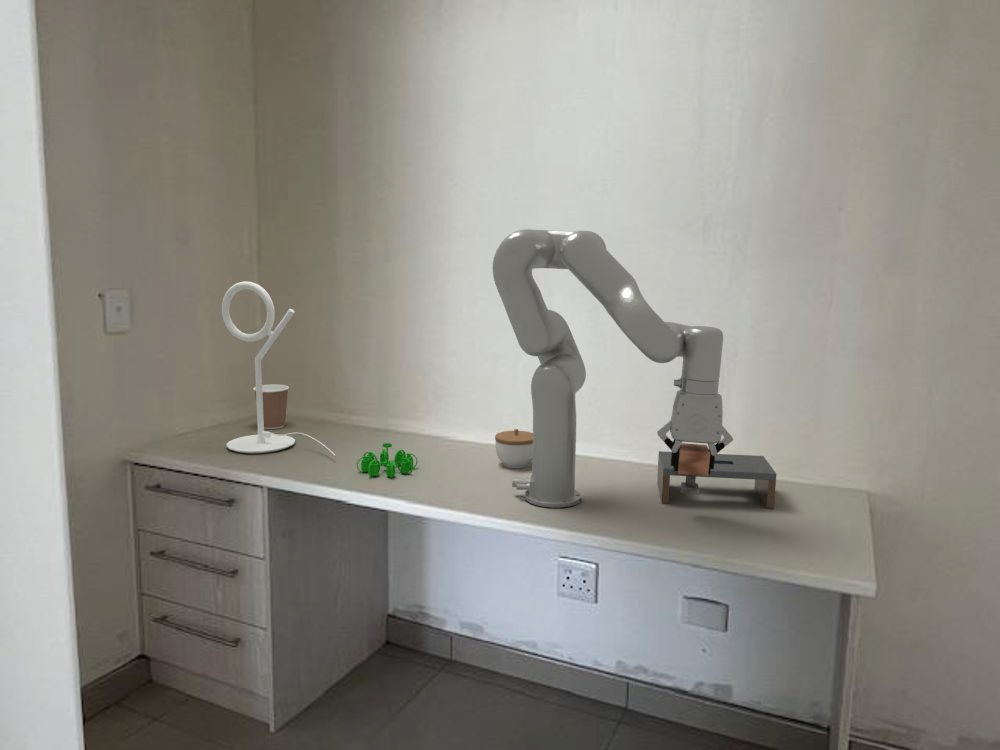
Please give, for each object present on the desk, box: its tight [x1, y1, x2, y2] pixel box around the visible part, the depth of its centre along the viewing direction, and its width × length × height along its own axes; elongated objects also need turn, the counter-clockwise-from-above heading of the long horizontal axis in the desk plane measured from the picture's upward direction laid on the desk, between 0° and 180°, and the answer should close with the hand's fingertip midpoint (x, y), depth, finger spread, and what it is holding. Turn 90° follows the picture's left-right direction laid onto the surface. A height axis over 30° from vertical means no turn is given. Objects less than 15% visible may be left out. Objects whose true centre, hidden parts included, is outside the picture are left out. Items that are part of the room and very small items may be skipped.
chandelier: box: [356, 442, 418, 479], centre depth 195 cm, size 15×15×7 cm
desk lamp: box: [221, 280, 337, 458], centre depth 210 cm, size 37×18×45 cm, turn 73°
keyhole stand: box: [656, 451, 777, 510], centre depth 179 cm, size 24×14×8 cm, turn 83°
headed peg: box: [678, 442, 710, 496], centre depth 165 cm, size 6×6×10 cm
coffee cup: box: [252, 384, 290, 430], centre depth 237 cm, size 10×10×12 cm
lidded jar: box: [494, 428, 533, 469], centre depth 201 cm, size 11×11×9 cm
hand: (691, 470), depth 165 cm, fingers closed on headed peg, 6 cm apart
